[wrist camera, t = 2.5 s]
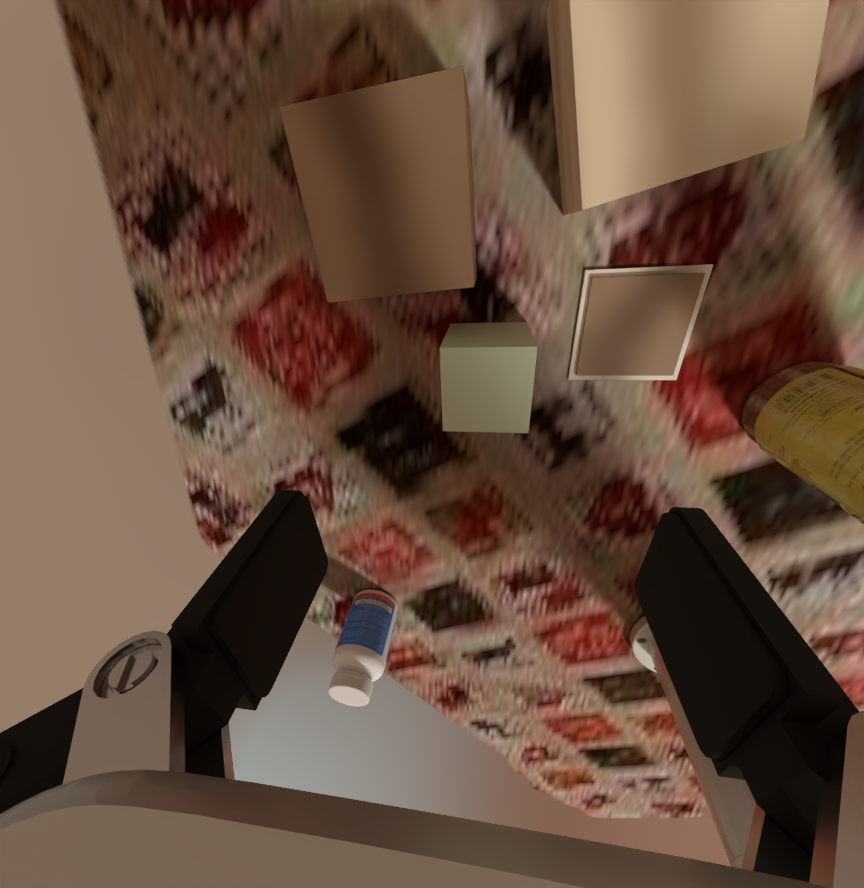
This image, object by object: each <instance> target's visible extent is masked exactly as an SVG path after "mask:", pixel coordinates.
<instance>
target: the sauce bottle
mask: <svg viewBox="0 0 864 888" xmlns="http://www.w3.org/2000/svg"><path fill="white" fill-rule="evenodd" d="M741 420H742V426H743V428H744V430H745V431H746V432H747V434H748V436H749V437H750V438H751V439H752V440H753V441H754V442H756V443H757V444H758V445H759V447H760V448H761V449H762V450H763V451H764V452H766V453H767V454H768V455H770V456H771V457H773V458H774V459H776V460H777V461H778V462H780V463H781V464H782V465H784V466H785V467H786V468H788V469H789V470H791V471H792V472H794V473H795V474H796V475H798V476H799V477H800V478H802V479H803V480H805V481H806V482H807V483H809V484H810V485H811V486H813V487H814V488H815V489H817V490H818V491H819V492H821V493H822V494H824V495H825V496H826V497H827V498H829V499H830V500H832V501H833V502H834V503H836V504H837V505H839V506H841V507H842V508H843V509H844V510H845V511H847V512H848V513H849V514H851V515H852V516H853V517H855V518H856V519H858V520H859V521H860V522H862V523H863V524H864V370H862V369H859V368H855V367H851V366H842V365H837V364H834V363H828V362H804V363H801V364H796V365H794V366H790V367H788V368H786V369H783V370H782V371H780V372H779V373H777V374H774V375H772V376H770V377H768V378H767V379H766V380H765V381H764V382H762V383H761V384H760V385H759V386H758V387H757V388H756V389H755V390H754V391H753V392H751V394H750V396H749V398H748V399H747V401H746V402H745V406H744V409H743V411H742V419H741Z"/></svg>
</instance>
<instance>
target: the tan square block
mask: <svg viewBox="0 0 864 888" xmlns="http://www.w3.org/2000/svg"><path fill="white" fill-rule="evenodd" d="M279 108H280V112H281V116H282V120H283V124H284V128H285V132H286V136H287V140H288V144H289V148H290V153H291V157H292V161H293V165H294V169H295V173H296V177H297V181H298V185H299V189H300V193H301V197H302V201H303V205H304V209H305V213H306V217H307V221H308V225H309V229H310V233H311V237H312V241H313V246H314V250H315V254H316V258H317V262H318V266H319V270H320V274H321V278H322V282H323V286H324V290H325V294H326V298H327V302H338V301H347V300H356V299H366V298H375V297H385V296H394V295H404V294H413V293H423V292H432V291H442V290H451V289H461V288H470V287H474V285H475V282H476V279H477V263H476V240H475V218H474V195H473V172H472V149H471V126H470V105H469V98H468V92H467V86H466V80H465V74H464V68H463V66H461V67H456V68H452V69H447V70H443V71H438V72H434V73H429V74H425V75H420V76H416V77H411V78H407V79H402V80H398V81H393V82H389V83H384V84H380V85H375V86H371V87H366V88H362V89H357V90H353V91H348V92H344V93H339V94H335V95H330V96H326V97H321V98H317V99H312V100H308V101H303V102H299V103H294V104H290V105H285V106H281V107H279Z"/></svg>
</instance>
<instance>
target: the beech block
mask: <svg viewBox="0 0 864 888" xmlns="http://www.w3.org/2000/svg"><path fill="white" fill-rule="evenodd" d="M828 6H829V0H549V4H548V8H547V12H546V16H547V28H548V40H549V52H550V64H551V76H552V88H553V100H554V112H555V124H556V136H557V148H558V160H559V172H560V184H561V196H562V208H563V215H566V214H570V213H574V212H577V211H581V210H584V209H588V208H591V207H594V206H597V205H600V204H603V203H606V202H610V201H613V200H616V199H619V198H622V197H625V196H628V195H632V194H635V193H638V192H641V191H644V190H647V189H650V188H654V187H657V186H660V185H663V184H666V183H669V182H672V181H676V180H679V179H682V178H685V177H688V176H691V175H695V174H698V173H701V172H704V171H707V170H710V169H713V168H717V167H720V166H723V165H726V164H729V163H732V162H735V161H739V160H742V159H745V158H748V157H751V156H754V155H757V154H761V153H764V152H767V151H770V150H773V149H776V148H779V147H783V146H786V145H789V144H792V143H795V142H798V141H802V140H804V138H805V133H806V127H807V122H808V116H809V110H810V105H811V99H812V94H813V88H814V83H815V77H816V72H817V66H818V61H819V55H820V50H821V44H822V39H823V33H824V28H825V22H826V17H827V11H828Z"/></svg>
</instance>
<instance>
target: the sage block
mask: <svg viewBox="0 0 864 888" xmlns="http://www.w3.org/2000/svg"><path fill="white" fill-rule="evenodd" d="M439 349H440V373H441V398H442V423H443V431H458V432H499V433H529V424H530V414H531V405H532V395H533V385H534V376H535V366H536V356H537V344H536V342H535V340H534V337H533V335H532V332H531V330H530V328H529V325H528V323H527V322H498V323H454V324H450V326H449V328H448V330H447V333H446V335H445V337H444V339H443V341H442V343H441V346H440V348H439Z"/></svg>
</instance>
